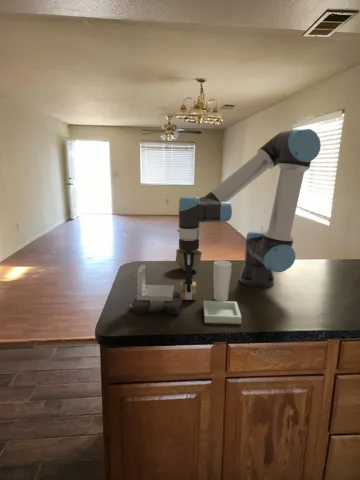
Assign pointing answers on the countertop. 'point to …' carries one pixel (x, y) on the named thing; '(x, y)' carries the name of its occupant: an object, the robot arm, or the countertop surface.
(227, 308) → the tray
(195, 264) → the bowl
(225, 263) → the drinking glass
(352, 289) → the countertop surface
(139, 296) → the grey toy cart
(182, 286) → the wooden block
